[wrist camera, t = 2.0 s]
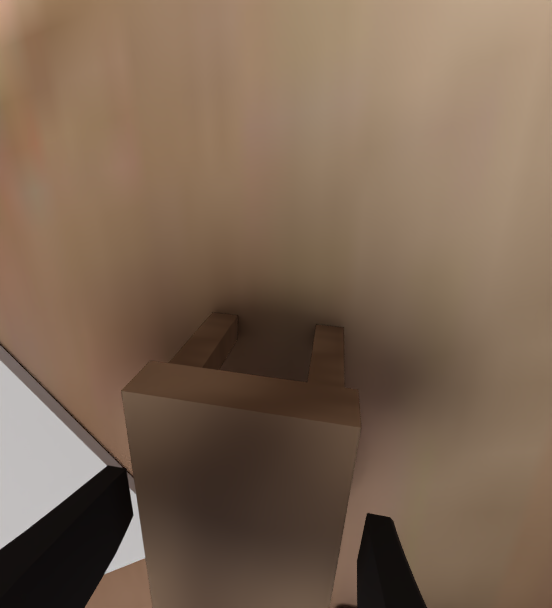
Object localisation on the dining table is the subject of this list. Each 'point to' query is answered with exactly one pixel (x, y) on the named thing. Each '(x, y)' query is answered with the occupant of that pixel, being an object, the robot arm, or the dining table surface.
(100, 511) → the robot arm
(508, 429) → the dining table surface
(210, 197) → the dining table surface
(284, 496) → the stool
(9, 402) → the mat
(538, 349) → the dining table surface
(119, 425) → the dining table surface
